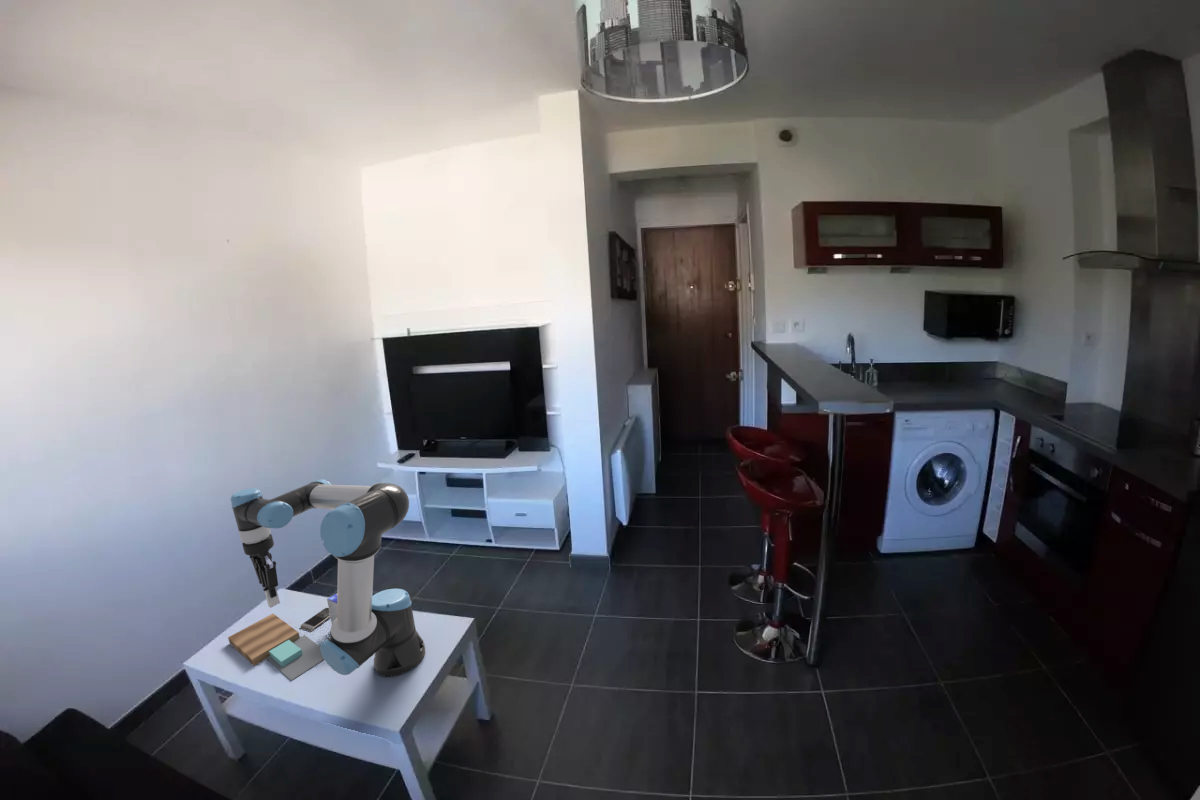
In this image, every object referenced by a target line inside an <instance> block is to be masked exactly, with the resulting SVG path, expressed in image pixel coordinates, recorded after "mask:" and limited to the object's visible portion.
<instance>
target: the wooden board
mask: <svg viewBox="0 0 1200 800" xmlns="http://www.w3.org/2000/svg"><path fill="white" fill-rule="evenodd" d="M299 638H300V632H299V631H298V630H296V629H295V628H294V627H292V626H291V625H290V624H288V623H287V622H285V620H283V619H281V618H280V617H279V616H278V615H276V614H274V613H271V614H270V615H268V616H266V617H264V618H262V619H260V620H258V621H256V622H254V623H252V624H251V625H249V626H247V627H245V628H243V629H241V630H239V631H237V632H235V633H234V634H231V635H229V636H228V637H227V639H228V643H229V644H230V646H231V647H232V648H234V649H235V650H236V651H237V652H239V654H240V655H241V656H243V658H245V660H247V661H248V662H249V663H250V664H251V665H252V666H253V667H255V666H256V665H258V664H260V663H261V662H262V663H263V661H265V660H267V659H266V658H267V657H268V656H270V653H269V651H270V650H272V649H274V648H275V647H277V646H279V645H281V644H282V643H284V642H286V641H287V640H290V641H291V642H294V641H295V640H297V639H299Z"/></svg>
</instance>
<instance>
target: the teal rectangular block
mask: <svg viewBox="0 0 1200 800" xmlns="http://www.w3.org/2000/svg"><path fill="white" fill-rule="evenodd" d="M269 653H270V656H271V657H272V658H273V659H274V660H275V661H276V662H277V663H279V664H280V665H281V666H282V667H284V666H285V665H287V664H288V663H290V662H292V661H293V660H295V659H296V658H298V657H300V656H301V655H303V654H302V650H301V649H300V648H299V647H298V646H296V645H295V644H294V643H292V642H291V641H290V640H287V641H286V642H284V643H282V644H281V645H279V646H277V647H275V648H274V649H272V650H270V651H269Z"/></svg>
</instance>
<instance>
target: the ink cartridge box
mask: <svg viewBox="0 0 1200 800" xmlns="http://www.w3.org/2000/svg"><path fill="white" fill-rule="evenodd" d="M326 601H327V606H328V607H327V608H329V613H330V623H331V624H332V623H333V622H334V620H335V619H336V618H337V593H334V594H333V595H331V596H329V597H327V599H326Z"/></svg>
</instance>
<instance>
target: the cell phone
mask: <svg viewBox="0 0 1200 800" xmlns="http://www.w3.org/2000/svg"><path fill="white" fill-rule="evenodd" d="M328 620H331V618H330V613H329V607H325V608H323V609H321V610H320V611H318V612H317V613H316V614H315V615H313V616H312V617H310V618H309V619H307V620H306V621H304V622H303V623H302V624H300V629H301V630H303V631H307V632H312V631H314V630H316V629H317V628H318V627H320V626H321V625H323V624H324V623H325V622H327V621H328Z"/></svg>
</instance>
